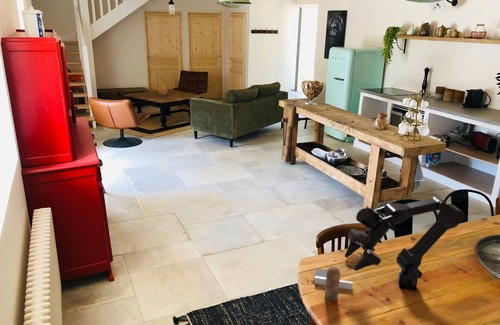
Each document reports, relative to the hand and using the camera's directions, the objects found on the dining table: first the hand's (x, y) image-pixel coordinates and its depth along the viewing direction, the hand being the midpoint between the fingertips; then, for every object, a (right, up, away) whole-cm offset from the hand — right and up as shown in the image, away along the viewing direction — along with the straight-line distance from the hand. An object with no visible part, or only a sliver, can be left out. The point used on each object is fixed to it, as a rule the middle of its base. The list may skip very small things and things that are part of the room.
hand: (350, 263), depth 157 cm
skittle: (-7, -13, 0) cm, 15 cm away
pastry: (+8, -6, +24) cm, 26 cm away
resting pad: (-8, -8, +14) cm, 18 cm away
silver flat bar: (-5, -11, +7) cm, 14 cm away
